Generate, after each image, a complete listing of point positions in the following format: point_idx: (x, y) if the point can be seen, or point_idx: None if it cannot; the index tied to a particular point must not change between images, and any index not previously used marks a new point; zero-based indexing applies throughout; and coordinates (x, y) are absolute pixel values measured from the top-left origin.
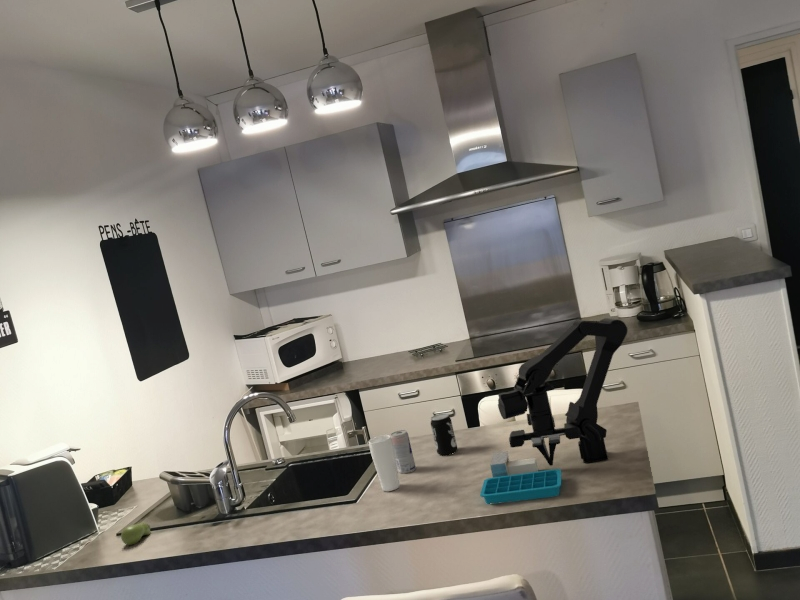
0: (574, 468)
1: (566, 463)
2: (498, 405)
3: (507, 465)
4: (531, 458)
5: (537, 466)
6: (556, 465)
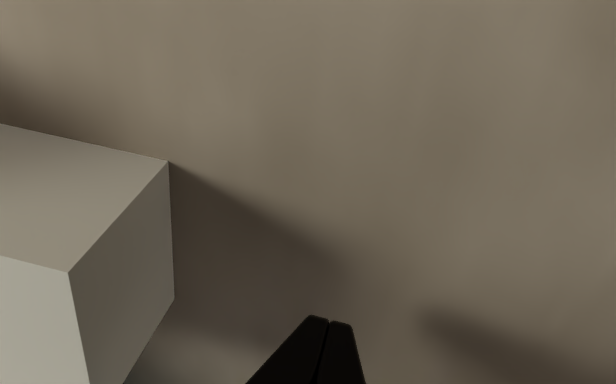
0: (609, 363)
1: (594, 164)
2: None
3: None
4: (2, 263)
5: (146, 185)
6: (425, 154)
